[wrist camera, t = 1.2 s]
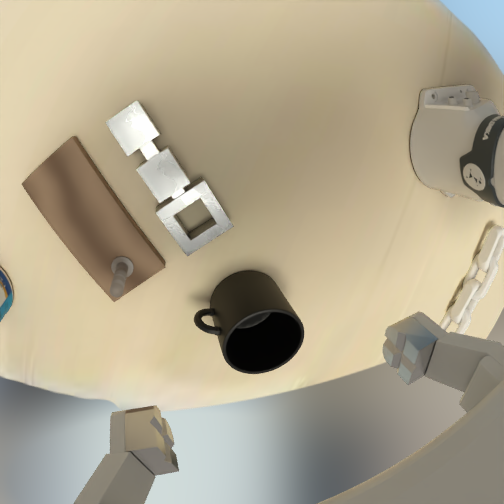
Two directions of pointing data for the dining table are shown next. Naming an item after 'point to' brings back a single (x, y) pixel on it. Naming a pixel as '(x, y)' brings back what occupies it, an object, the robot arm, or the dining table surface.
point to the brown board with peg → (92, 220)
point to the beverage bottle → (5, 294)
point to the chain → (476, 281)
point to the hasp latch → (167, 179)
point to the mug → (253, 323)
